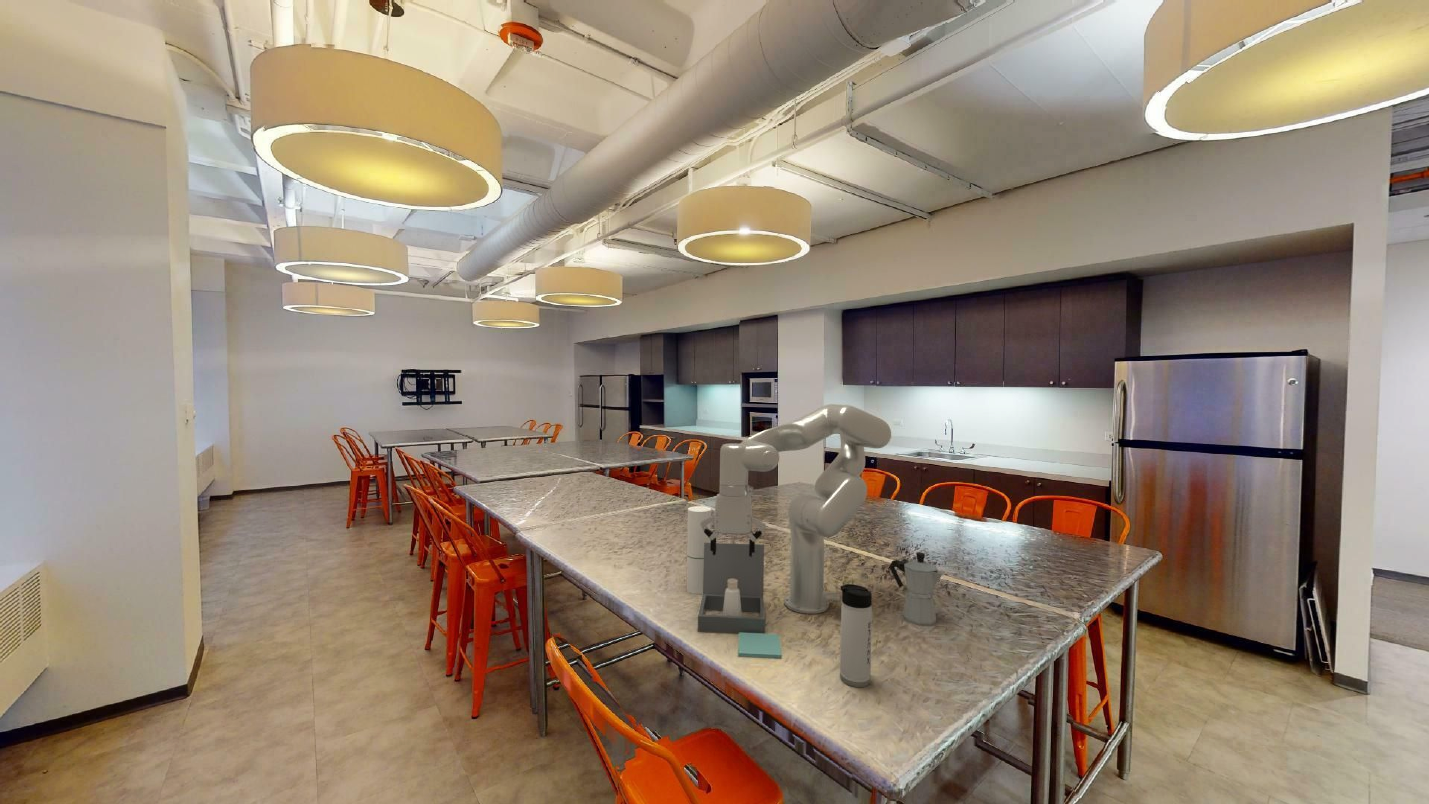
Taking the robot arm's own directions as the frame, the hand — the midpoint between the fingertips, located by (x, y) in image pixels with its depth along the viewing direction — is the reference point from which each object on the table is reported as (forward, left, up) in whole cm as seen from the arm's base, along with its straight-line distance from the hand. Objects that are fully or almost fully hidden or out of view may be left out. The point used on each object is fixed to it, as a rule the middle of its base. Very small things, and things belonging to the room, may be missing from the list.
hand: (732, 554), depth 135 cm
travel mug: (-27, +25, -18) cm, 41 cm away
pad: (-7, +13, -18) cm, 23 cm away
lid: (0, -8, -7) cm, 11 cm away
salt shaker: (0, 0, -18) cm, 18 cm away
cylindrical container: (+11, -20, -18) cm, 29 cm away
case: (0, 0, -18) cm, 18 cm away
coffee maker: (-50, -7, -18) cm, 54 cm away
